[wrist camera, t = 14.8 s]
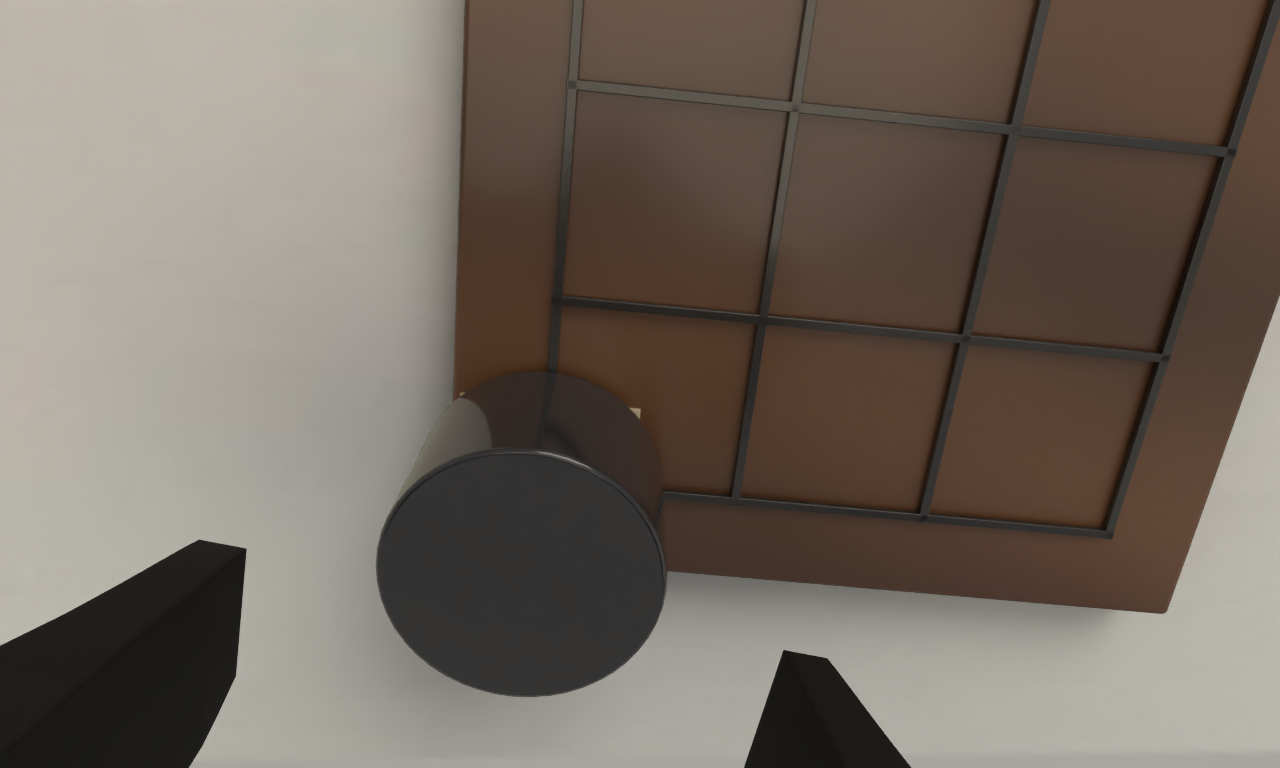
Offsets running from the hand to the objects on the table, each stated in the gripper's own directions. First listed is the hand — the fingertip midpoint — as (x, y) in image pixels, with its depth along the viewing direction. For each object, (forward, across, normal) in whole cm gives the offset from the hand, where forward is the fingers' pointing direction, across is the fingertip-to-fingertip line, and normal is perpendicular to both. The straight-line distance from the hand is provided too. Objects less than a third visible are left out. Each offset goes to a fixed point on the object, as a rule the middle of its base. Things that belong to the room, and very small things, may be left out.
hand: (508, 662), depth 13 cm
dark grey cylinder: (+5, 0, 0) cm, 5 cm away
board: (+6, -5, -6) cm, 10 cm away
